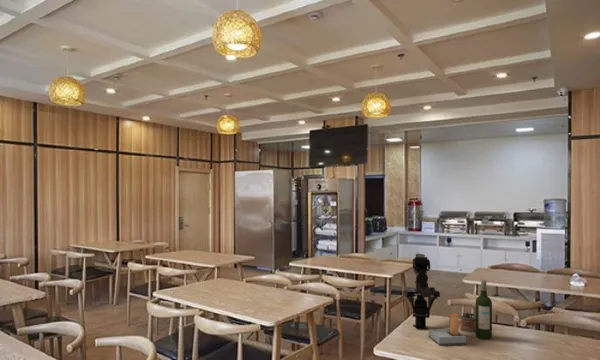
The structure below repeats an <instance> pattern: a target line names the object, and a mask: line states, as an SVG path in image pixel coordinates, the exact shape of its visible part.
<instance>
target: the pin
mask: <svg viewBox="0 0 600 360" xmlns="http://www.w3.org/2000/svg"><path fill="white" fill-rule="evenodd" d="M449 329H450V335H451V336H459V335H458V332H459V314H458V313H456V312H450V313H449Z"/></svg>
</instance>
